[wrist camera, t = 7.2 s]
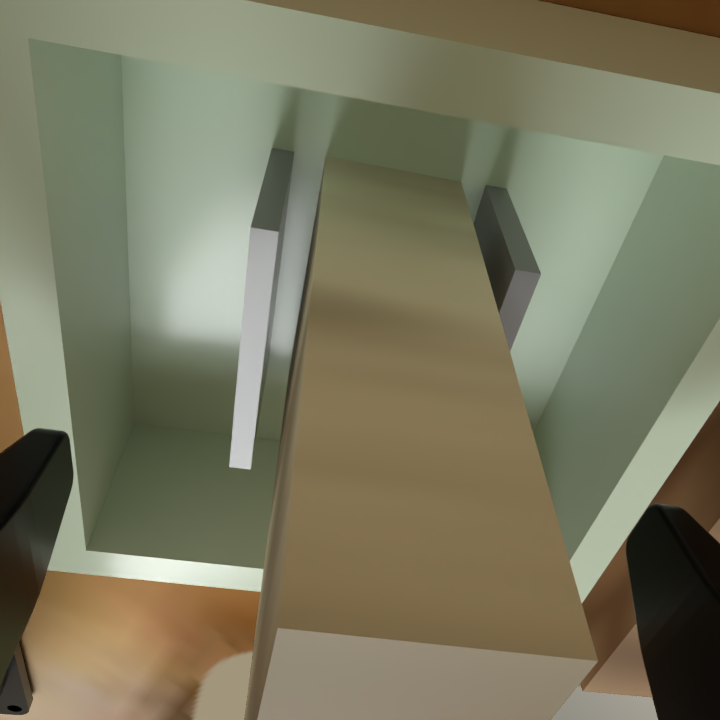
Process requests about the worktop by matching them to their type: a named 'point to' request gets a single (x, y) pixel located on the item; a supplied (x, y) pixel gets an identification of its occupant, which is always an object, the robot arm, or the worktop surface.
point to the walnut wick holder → (613, 590)
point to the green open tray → (294, 232)
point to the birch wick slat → (409, 483)
